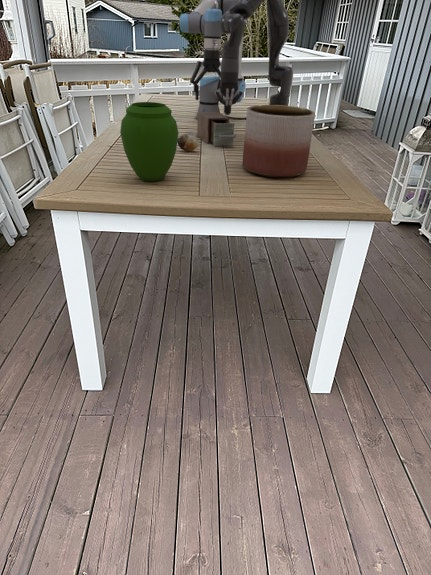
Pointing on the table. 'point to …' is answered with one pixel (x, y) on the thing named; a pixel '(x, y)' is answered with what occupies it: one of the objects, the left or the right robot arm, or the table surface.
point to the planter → (277, 140)
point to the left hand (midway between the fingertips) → (210, 100)
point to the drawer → (221, 132)
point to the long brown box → (207, 123)
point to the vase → (149, 139)
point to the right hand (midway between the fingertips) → (227, 114)
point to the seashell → (188, 142)
